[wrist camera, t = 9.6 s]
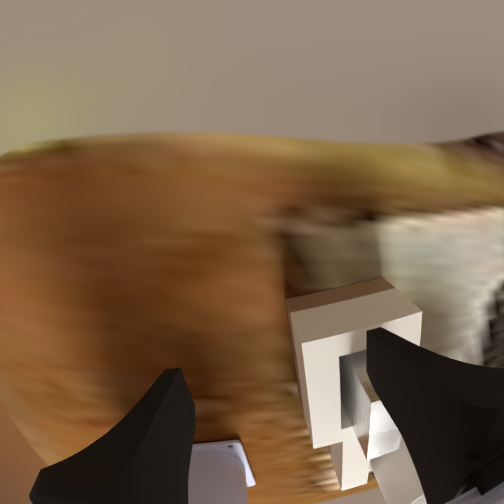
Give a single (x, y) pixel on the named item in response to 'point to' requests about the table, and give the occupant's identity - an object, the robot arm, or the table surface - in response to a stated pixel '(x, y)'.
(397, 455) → the mug
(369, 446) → the white upright block
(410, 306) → the slotted upright plate
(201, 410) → the table surface
